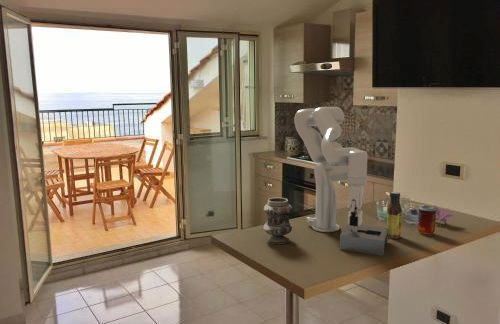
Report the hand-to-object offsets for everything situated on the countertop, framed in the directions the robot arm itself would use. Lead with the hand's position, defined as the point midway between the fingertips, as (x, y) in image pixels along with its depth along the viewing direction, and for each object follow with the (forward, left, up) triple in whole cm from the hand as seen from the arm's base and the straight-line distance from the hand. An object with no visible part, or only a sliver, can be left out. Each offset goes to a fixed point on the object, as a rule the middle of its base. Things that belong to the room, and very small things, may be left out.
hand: (354, 223), depth 178 cm
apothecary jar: (-31, -8, -9) cm, 33 cm away
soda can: (+27, +26, -9) cm, 39 cm away
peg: (0, 0, -8) cm, 8 cm away
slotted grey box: (+4, 0, -9) cm, 10 cm away
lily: (+33, +42, -9) cm, 55 cm away
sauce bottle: (+14, +16, -9) cm, 23 cm away
